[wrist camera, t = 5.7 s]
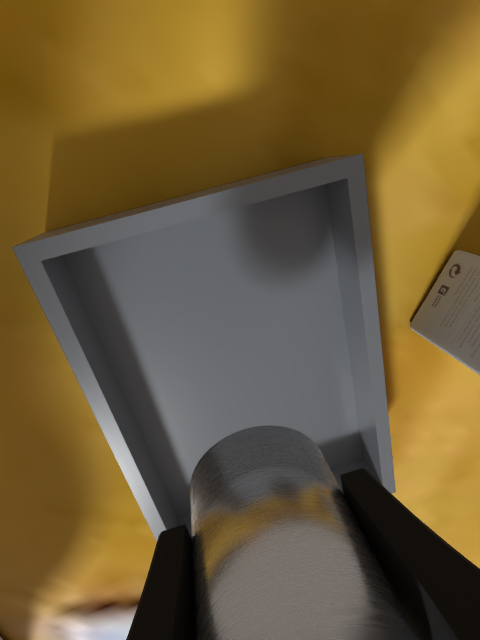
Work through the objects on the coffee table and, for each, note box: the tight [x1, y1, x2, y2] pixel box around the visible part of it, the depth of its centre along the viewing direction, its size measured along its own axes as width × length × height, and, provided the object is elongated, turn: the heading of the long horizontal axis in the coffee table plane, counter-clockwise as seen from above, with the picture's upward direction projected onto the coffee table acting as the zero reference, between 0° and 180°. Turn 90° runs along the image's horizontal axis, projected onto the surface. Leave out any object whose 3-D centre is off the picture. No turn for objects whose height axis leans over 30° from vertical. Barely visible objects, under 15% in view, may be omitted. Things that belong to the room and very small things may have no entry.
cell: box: [190, 425, 419, 640], centre depth 8 cm, size 4×4×6 cm
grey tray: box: [12, 154, 396, 541], centre depth 16 cm, size 11×15×3 cm
